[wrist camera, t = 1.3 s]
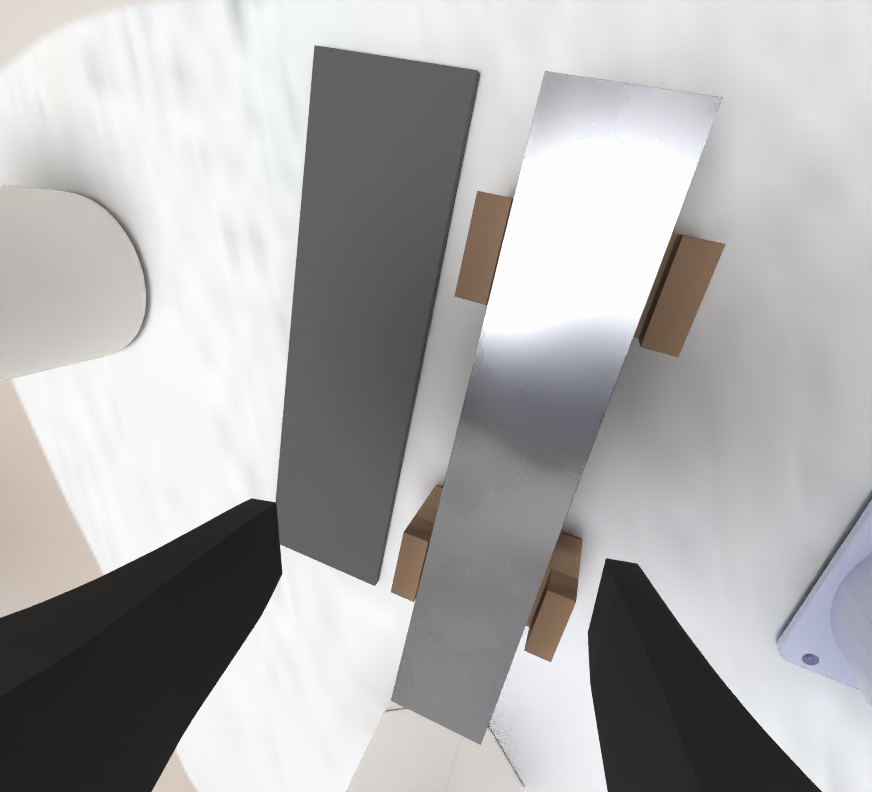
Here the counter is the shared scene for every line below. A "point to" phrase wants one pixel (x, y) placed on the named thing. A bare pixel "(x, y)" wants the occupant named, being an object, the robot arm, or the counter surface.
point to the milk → (430, 759)
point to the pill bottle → (63, 281)
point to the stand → (657, 330)
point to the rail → (544, 373)
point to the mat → (364, 293)
